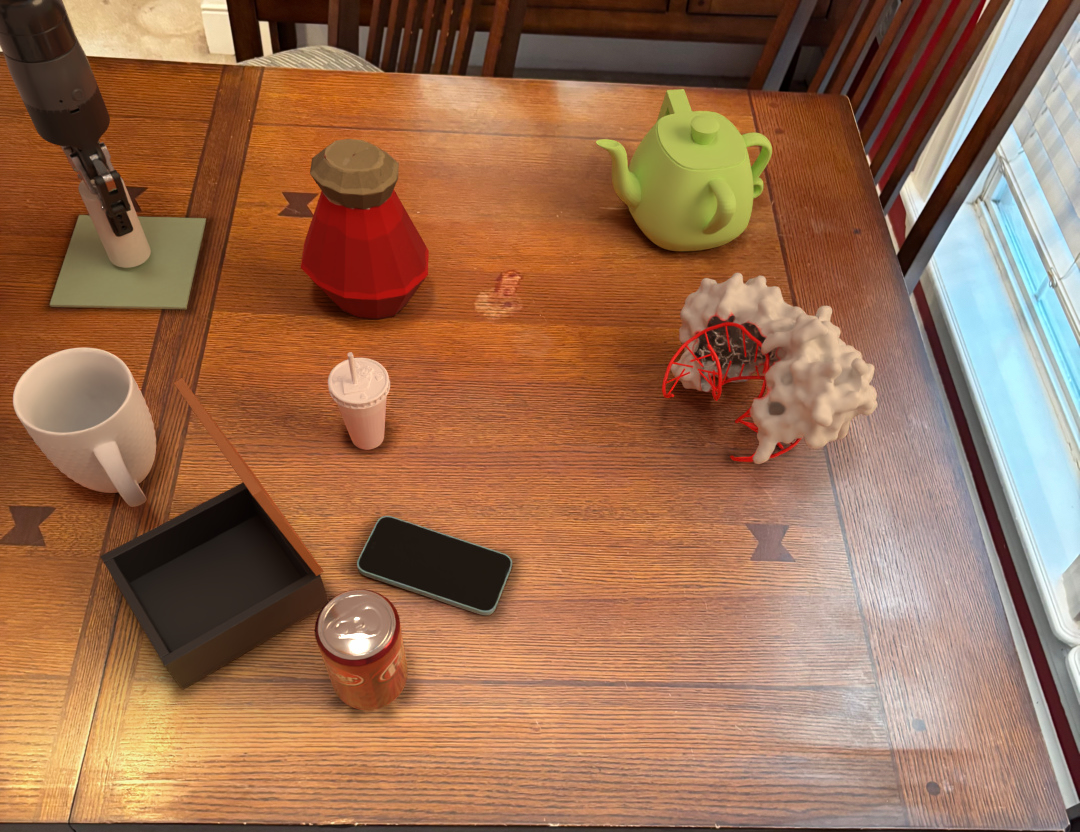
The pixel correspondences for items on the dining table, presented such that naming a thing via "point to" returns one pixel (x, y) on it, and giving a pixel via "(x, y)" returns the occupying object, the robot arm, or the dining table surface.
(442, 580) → the smartphone
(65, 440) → the mug
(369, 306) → the bottle
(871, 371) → the protein dna model
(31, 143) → the dining table surface
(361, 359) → the smoothie
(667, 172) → the teapot
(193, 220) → the mat
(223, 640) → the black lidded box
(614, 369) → the dining table surface
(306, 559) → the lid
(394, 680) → the soda can
